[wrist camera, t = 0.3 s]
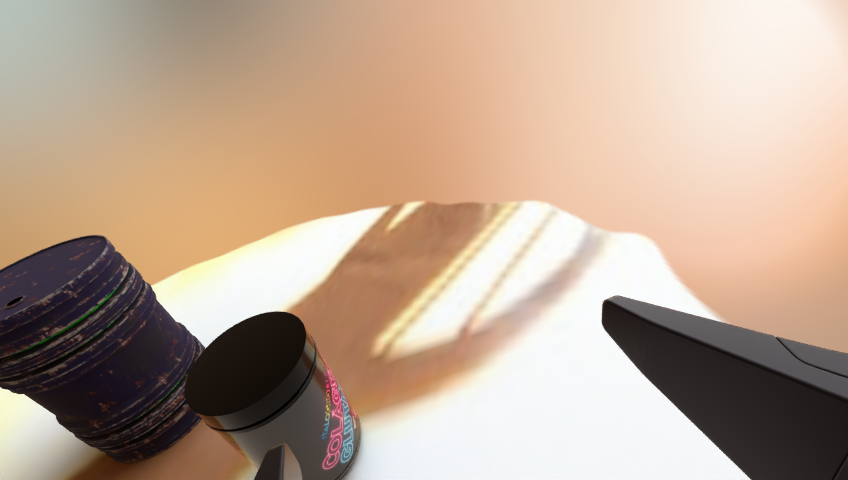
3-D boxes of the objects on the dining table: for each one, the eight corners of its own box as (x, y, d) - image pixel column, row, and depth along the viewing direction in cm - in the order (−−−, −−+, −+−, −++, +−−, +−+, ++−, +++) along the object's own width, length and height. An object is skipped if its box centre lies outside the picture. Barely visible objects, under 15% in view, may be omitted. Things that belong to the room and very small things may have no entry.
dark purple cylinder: (109, 399, 35) (-39, 282, 26) (215, 339, 38) (114, 218, 30) (98, 494, 27) (-113, 374, 19) (231, 409, 31) (102, 275, 22)
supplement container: (334, 518, 23) (251, 431, 17) (252, 486, 25) (156, 401, 19) (380, 413, 28) (328, 317, 22) (307, 395, 30) (244, 306, 24)
